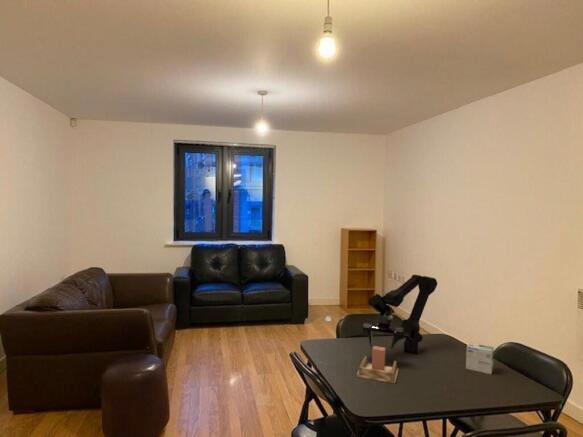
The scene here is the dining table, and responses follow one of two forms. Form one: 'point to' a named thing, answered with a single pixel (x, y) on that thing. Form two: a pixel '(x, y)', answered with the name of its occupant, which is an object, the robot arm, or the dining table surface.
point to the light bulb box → (479, 358)
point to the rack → (378, 372)
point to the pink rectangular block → (378, 358)
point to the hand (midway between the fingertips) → (381, 347)
